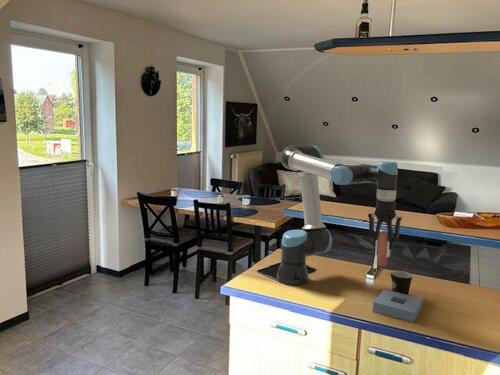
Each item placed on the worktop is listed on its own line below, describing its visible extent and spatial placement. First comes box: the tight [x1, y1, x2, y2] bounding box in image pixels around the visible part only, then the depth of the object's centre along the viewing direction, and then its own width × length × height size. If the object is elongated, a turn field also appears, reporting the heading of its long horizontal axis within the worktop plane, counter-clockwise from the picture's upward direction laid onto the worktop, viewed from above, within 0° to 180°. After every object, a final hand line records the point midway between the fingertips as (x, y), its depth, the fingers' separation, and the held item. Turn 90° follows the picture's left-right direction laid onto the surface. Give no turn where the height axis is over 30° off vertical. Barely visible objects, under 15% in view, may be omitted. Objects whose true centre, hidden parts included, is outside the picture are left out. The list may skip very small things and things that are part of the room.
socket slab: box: [372, 288, 424, 323], centre depth 173 cm, size 16×16×4 cm
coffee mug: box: [390, 270, 413, 295], centre depth 187 cm, size 12×9×10 cm
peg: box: [376, 230, 389, 267], centre depth 173 cm, size 4×4×14 cm
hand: (382, 255), depth 173 cm, fingers closed on peg, 4 cm apart
